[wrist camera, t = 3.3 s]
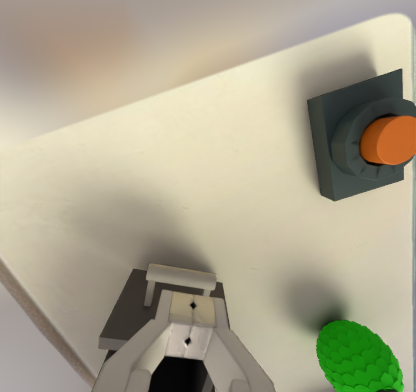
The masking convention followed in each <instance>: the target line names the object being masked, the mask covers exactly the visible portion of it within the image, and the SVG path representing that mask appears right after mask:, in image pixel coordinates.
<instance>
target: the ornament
mask: <svg viewBox="0 0 416 392" xmlns="http://www.w3.org/2000/svg"><path fill="white" fill-rule="evenodd" d="M316 347H317V348H316V351H317V357H318V359H319V360H318V361H319V364H320V366H321V369H322V370H323V371H324V373H325V377H326V378H327V380H328V381H329V382H330V383H331V384H332V385H333V388H334V389H335V390H336V391H337V392H402V391H403V388H404V385H403V383H402V378H403V375H402V371H401V369H400V367H399V363H398V360H397V359H396V358H395V356H394V355H393V353H392V351H391V349H390V347H389V346H388V345H386V344H385V343H384V342H383V341H382V339H381V338H380V337H379V336H378V335H377V334H374V333H373V332H372V331H371V330H370V329H368V328H367V327H366V326H361V325H360V324H358V323H356V322H354V321H351V322H350V321H348V320H342V321H340V320H335V321H334V322H330V323H328V325H325V326H324V327H323V328H322V331H320V333H319V338H317V345H316Z"/></svg>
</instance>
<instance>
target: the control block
mask: <svg viewBox="0 0 416 392" xmlns="http://www.w3.org/2000/svg"><path fill="white" fill-rule="evenodd" d="M307 103H308V110H309V117H310V123H311V130H312V137H313V144H314V150H315V157H316V164H317V171H318V177H319V184H320V191H321V195H322V196H324V197H326V198H328V199H330V200H333V201H337V200H341V199H344V198H347V197H350V196H353V195H357V194H360V193H363V192H366V191H369V190H373V189H376V188H379V187H382V186H385V185H389V184H392V183H395V182H398V181H401V180H404V166H405V165H406V164H408V163H409V162H410V161H411V160H412V159H413V157H414V155H415V154H414V155H413V156H412V157H411V158H410V159H408V160H407V161H405V162H403V163H400V164H396V165H390V164H382V163H374V162H369V161H367V160H365V159H364V158H363V157H362V156H361V154H360V151H359V140H360V138H361V136H362V133H363V131H364V130H365V128H366V127H367V126H368V125H369V124H371V123H372V122H374V121H376V120H378V119H381V118H389V117H397V116H412V117H414V118H416V106H415V105H414V103H413V102H411V101H408V100H405V99H403V82H402V69H398V70H395V71H393V72H390V73H387V74H384V75H381V76H378V77H375V78H372V79H369V80H366V81H363V82H360V83H357V84H354V85H351V86H348V87H345V88H342V89H339V90H336V91H333V92H330V93H327V94H324V95H321V96H318V97H315V98H313V99H310V100H307Z"/></svg>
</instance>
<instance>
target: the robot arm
mask: <svg viewBox="0 0 416 392" xmlns="http://www.w3.org/2000/svg"><path fill="white" fill-rule="evenodd" d="M164 356H173V357H184V358H191V359H198V360H203V362H204V365H205V367H206V369H207V371H208V373H209V375H210V378H211V380H212V382H213V384H214V386H215V388H216V391H217V392H276V391H275V388H274V384H273V382H272V380H271V379H270V378H269V377H268V375H267V374H266V373H265V372H264V370H263V369H262V368H261V366H260V365H259V364H258V363H257V361H256V360H255V359H254V357H253V356H252V355H251V354H250V352H249V351H248V350H247V348H246V347H245V346H244V345H243V343H242V342H241V341H240V340H239V338H238V337H237V336H236V334H235V333H234V332H233V331H232V330H229V327H228V321H227V315H226V309H225V303H224V300H223V299H222V298H214V297H213V298H212V297H206V296H199V295H192V294H187V293H181V292H175V291H168V290H162V292H161V297H160V301H159V305H158V309H157V313H156V317H155V320H154V319H151V320H150V321H149V322H148V323H147V324H146V325H145V326H144V327H143V328H141V329H140V330H139V331H138V332H137V333H136V334H135V335H134V336H133V337H132V338H131V339H130V340H129V341H127V342H126V343H125V344H124V345H123V346H122V347H121V348H120V349H119V350H118V351H117V352H116V353H115V354H113V355H112V356H111V357H110V358H109V359H108V360H107V361H106V362H105V363H104V364H103V367H102V369H101V371H100V374H99V376H98V378H97V380H96V383H95V385H94V387H93V390H92V392H148V390H149V385H150V380H151V375H152V373H153V372H154V370H155V369H156V368H157V366H158V365H159V363H160V362H161V361H162V359H163V358H164Z"/></svg>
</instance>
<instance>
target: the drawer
mask: <svg viewBox="0 0 416 392" xmlns="http://www.w3.org/2000/svg"><path fill="white" fill-rule="evenodd" d="M162 290H168V291H175V292H181V293H187V294H192V295H199V296H206V297H212V298H213V297H214V298H222V299H223V300H224V303H225V309H226V315H227V321H228V327H229V330H230V325H229V319H228V313H227V307H226V301H225V296H224V290H223V284H222V283H220V282H216V274H214V273H208V272H202V271H196V270H190V269H184V268H178V267H172V266H166V265H160V264H153V263H150V264H149V267H148V270H147V271H146V270H139V269H133V271H132V273H131V275H130V277H129V279H128V281H127V283H126V285H125V287H124V289H123V291H122V293H121V295H120V297H119V299H118V301H117V303H116V305H115V307H114V309H113V311H112V313H111V315H110V317H109V319H108V321H107V323H106V325H105V327H104V329H103V331H102V333H101V335H100V337H99V347H98V348H99V349H108V350H111V352H110V354H109V357H108V359H109V358H110V357H111V356H112V355H113V354H115V353H116V352H117V351H118V350H119V349H120V348H121V347H122V346H123V345H124V344H125V343H126V342H127V341H129V340H130V339H131V338H132V337H133V336H134V335H135V334H136V333H137V332H138V331H139V330H140V329H141V328H143V327H144V326H145V325H146V324H147V323H148V322H149V321H150V320H151V319H154V320H155V317H156V313H157V309H158V305H159V301H160V297H161V292H162ZM108 359H107V360H108ZM212 386H213V382H212V380H211V378H210V375H209V373H208V371H207V369H206V367H205V365H204V362H203V360H198V359H191V358H184V357H173V356H164V358H163V359H162V361H161V362H160V363H159V365H158V366H157V368H156V369H155V370H154V372H153V373H152V375H151V380H150V385H149V390H148V392H211V389H212Z"/></svg>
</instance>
